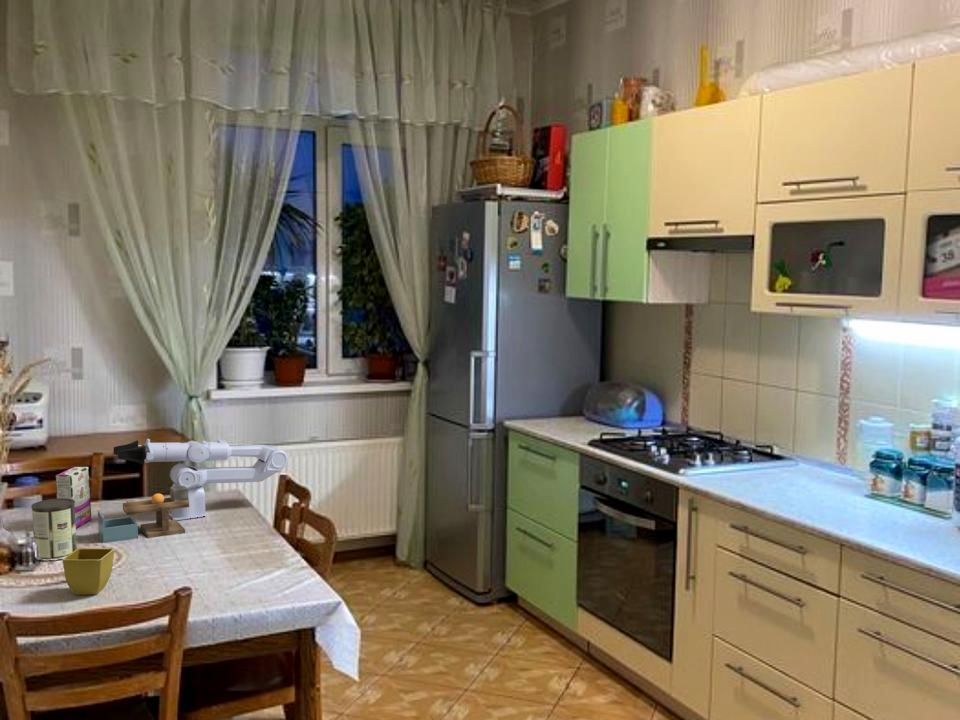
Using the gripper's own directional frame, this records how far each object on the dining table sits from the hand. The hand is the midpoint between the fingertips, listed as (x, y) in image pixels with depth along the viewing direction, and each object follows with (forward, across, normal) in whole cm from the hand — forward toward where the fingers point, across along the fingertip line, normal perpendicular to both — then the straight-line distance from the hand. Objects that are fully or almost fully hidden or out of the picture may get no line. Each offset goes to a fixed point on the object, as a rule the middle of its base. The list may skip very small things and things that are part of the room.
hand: (115, 452), depth 260 cm
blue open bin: (0, +12, +22) cm, 25 cm away
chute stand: (-12, +12, +21) cm, 27 cm away
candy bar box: (+9, -7, +23) cm, 25 cm away
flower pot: (+13, +56, +23) cm, 62 cm away
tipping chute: (-10, +9, +14) cm, 20 cm away
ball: (-10, +12, +12) cm, 20 cm away
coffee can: (+17, +22, +24) cm, 36 cm away
